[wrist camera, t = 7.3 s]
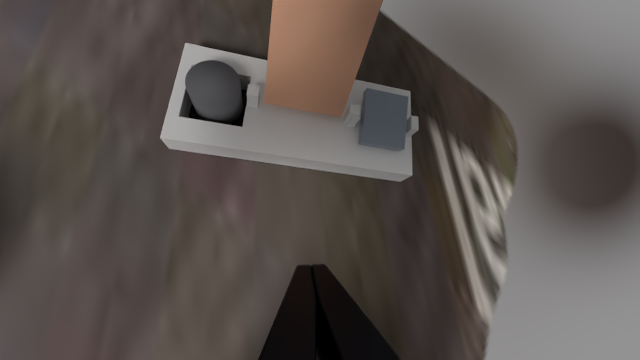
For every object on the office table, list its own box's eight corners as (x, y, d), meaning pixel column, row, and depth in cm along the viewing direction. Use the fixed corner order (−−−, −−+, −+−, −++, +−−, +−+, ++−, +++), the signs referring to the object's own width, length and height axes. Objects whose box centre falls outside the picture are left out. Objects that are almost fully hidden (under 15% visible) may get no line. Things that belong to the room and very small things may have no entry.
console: (400, 181, 24) (423, 169, 20) (168, 148, 20) (151, 127, 17) (399, 102, 26) (420, 80, 23) (191, 60, 22) (179, 26, 19)
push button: (238, 129, 21) (235, 110, 18) (190, 121, 20) (179, 100, 18) (245, 90, 22) (244, 66, 19) (199, 81, 21) (191, 55, 19)
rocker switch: (399, 151, 22) (404, 149, 21) (358, 144, 21) (361, 141, 21) (403, 100, 23) (408, 96, 22) (363, 92, 22) (367, 87, 21)
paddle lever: (341, 117, 21) (402, -56, 13) (263, 103, 20) (281, -96, 12) (340, 108, 22) (397, -60, 14) (265, 94, 21) (283, -98, 13)
